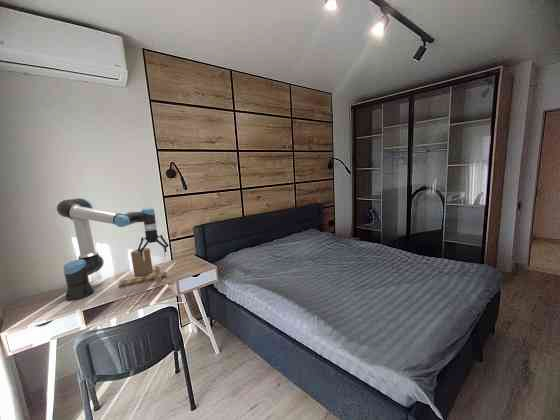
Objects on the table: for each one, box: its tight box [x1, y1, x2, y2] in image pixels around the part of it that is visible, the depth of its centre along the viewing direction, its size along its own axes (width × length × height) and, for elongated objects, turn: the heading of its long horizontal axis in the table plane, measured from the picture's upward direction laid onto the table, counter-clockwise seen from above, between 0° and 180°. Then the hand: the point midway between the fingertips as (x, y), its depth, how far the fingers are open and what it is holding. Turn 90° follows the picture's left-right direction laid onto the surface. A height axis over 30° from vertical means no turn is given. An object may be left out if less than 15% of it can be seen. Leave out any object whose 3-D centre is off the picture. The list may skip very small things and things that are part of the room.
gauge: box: [152, 266, 162, 284], centre depth 189 cm, size 4×12×11 cm, turn 25°
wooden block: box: [130, 247, 154, 277], centre depth 204 cm, size 10×10×20 cm
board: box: [118, 271, 168, 289], centre depth 190 cm, size 31×9×2 cm, turn 115°
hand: (154, 258), depth 184 cm, fingers open, 13 cm apart
